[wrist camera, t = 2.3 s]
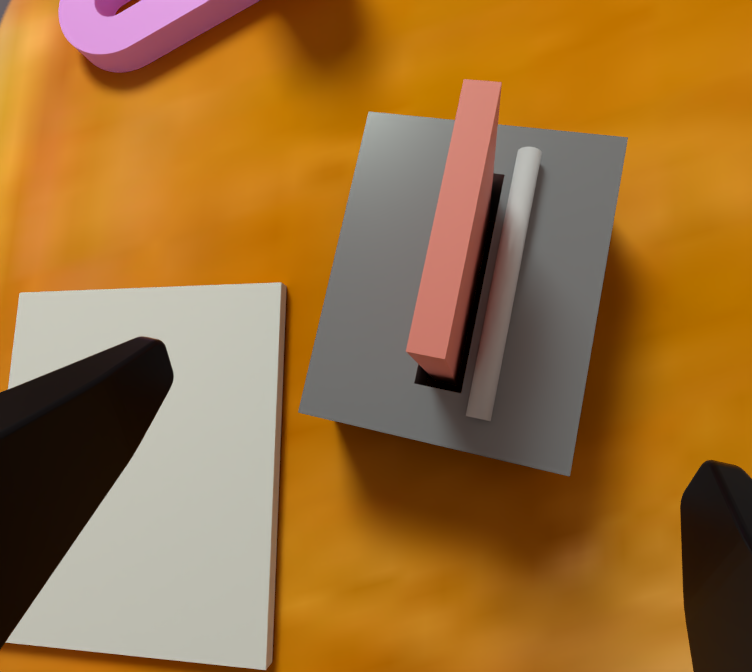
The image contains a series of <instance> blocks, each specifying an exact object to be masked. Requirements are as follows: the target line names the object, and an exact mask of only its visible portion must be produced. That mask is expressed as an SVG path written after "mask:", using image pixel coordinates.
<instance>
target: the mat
mask: <svg viewBox="0 0 752 672" xmlns="http://www.w3.org/2000/svg"><path fill="white" fill-rule="evenodd" d="M286 289H287V286H285V285H284V284H283V283H256V284H231V285H205V286H180V287H154V288H128V289H103V290H77V291H51V292H26V293H20V294H19V303H18V311H17V319H16V327H15V336H14V344H13V352H12V361H11V369H10V377H9V386H8V389H10V388H13V387H15V386H18V385H20V384H23V383H25V382H28V381H30V380H33V379H35V378H38V377H40V376H42V375H45V374H47V373H50V372H52V371H55V370H57V369H60V368H62V367H65V366H67V365H70V364H72V363H74V362H77V361H79V360H82V359H84V358H87V357H89V356H92V355H94V354H97V353H99V352H102V351H104V350H107V349H109V348H111V347H114V346H116V345H119V344H121V343H124V342H126V341H129V340H131V339H134V338H136V337H140V336H145V337H150V338H154V339H159V340H161V341H162V342H163V343H164V344H165V346H166V349H167V352H168V355H169V359H170V362H171V366H172V369H173V373H174V379H173V384H172V386H171V388H170V390H169V392H168V394H167V396H166V398H165V399H164V401H163V403H162V405H161V407H160V409H159V410H158V412H157V414H156V416H155V418H154V420H153V421H152V423H151V425H150V427H149V429H148V430H147V432H146V434H145V436H144V438H143V440H142V441H141V443H140V445H139V447H138V448H137V450H136V452H135V454H134V455H133V457H132V458H131V460H130V461H129V463H128V464H127V466H126V468H125V469H124V470H123V472H122V473H121V475H120V476H119V478H118V479H117V481H116V482H115V484H114V485H113V486H112V488H111V489H110V491H109V492H108V494H107V495H106V497H105V498H104V500H103V501H102V502H101V504H100V505H99V507H98V508H97V510H96V511H95V513H94V514H93V516H92V517H91V518H90V520H89V521H88V523H87V524H86V526H85V527H84V529H83V530H82V532H81V533H80V534H79V536H78V537H77V539H76V540H75V542H74V543H73V545H72V546H71V548H70V549H69V550H68V552H67V553H66V555H65V556H64V558H63V559H62V561H61V562H60V564H59V565H58V566H57V568H56V569H55V571H54V572H53V574H52V575H51V577H50V578H49V580H48V581H47V582H46V584H45V585H44V587H43V588H42V590H41V591H40V593H39V594H38V596H37V597H36V598H35V600H34V601H33V603H32V604H31V606H30V607H29V609H28V610H27V612H26V613H25V614H24V616H23V617H22V619H21V620H20V622H19V623H18V625H17V626H16V628H15V629H14V630H13V632H12V633H11V635H10V636H9V638H8V639H7V641H6V643H15V644H25V645H34V646H43V647H53V648H62V649H72V650H81V651H91V652H100V653H109V654H119V655H128V656H138V657H147V658H157V659H166V660H175V661H185V662H194V663H204V664H213V665H223V666H232V667H241V668H251V669H260V670H266V669H267V668H268V667H269V666H270V664H271V663H272V657H273V630H274V604H275V578H276V552H277V525H278V499H279V473H280V446H281V420H282V394H283V368H284V341H285V315H286Z"/></svg>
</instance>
